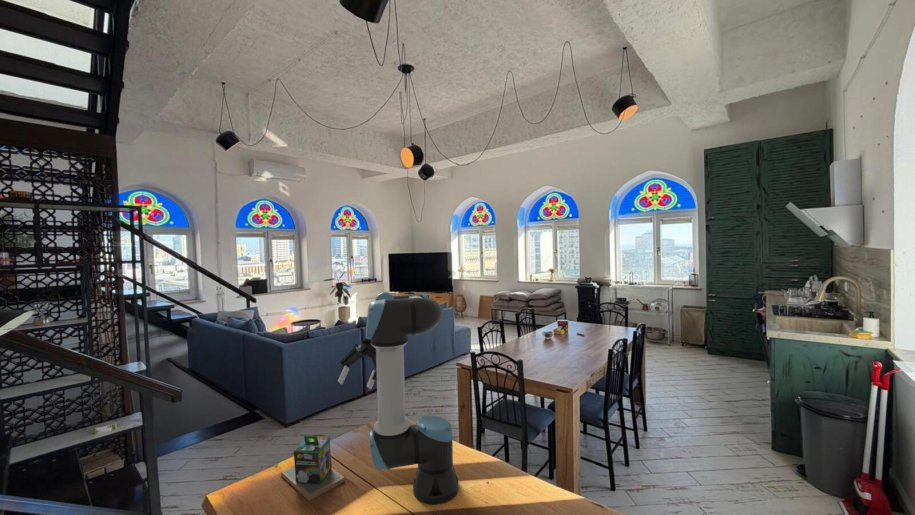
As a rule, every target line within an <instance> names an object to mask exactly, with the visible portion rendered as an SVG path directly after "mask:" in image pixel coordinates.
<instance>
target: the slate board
mask: <svg viewBox="0 0 915 515" xmlns="http://www.w3.org/2000/svg"><path fill="white" fill-rule="evenodd" d="M280 474H281V477H282V478H283V479H285V480H286V481H287V483H289V484H290V485H291V486H292V487H293V488H294V489H295V490H296V491H298V492H299V494H301V495H302V496H303V497H304V498H305V499H306V498H307V499H306V500H308V502H310V501H312V500H315V498H318V497H319V496H321V495H323V494H324V493H326V492H328V491H330V490H331V489H333V488H335V487H336V486H339V485H341V484H342V483H344V482H345V481H346V480H345V479H346V478H345V476H344V475H343V474H341V473H340V472H339V471H337V470H336V469H334V468H333V467H332V468H331V469H330V471H329V472H328V474H327V475H326V476H325V478H324V479H323V480H322V482H321V483H320V484H317V483H302V482H296V476H295V465H293V466H291V467H288V468H287V469H284V470H282V471H281V472H280Z"/></svg>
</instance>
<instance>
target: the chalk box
mask: <svg viewBox="0 0 915 515" xmlns="http://www.w3.org/2000/svg"><path fill="white" fill-rule="evenodd" d="M293 461H294V466H295V476H296V482H302V483H317V484H320V483H321V482H322V480H323V479H324V478H325V476H326V475H327V474H328V472H329V471H330V469H331V468H333V466H332V450H331V437H327V436H326V437H325V436H324V437H323V436H322V437H321V436H316V435H304V436H303V440H302V441H301V442H300V443H299V444H298V446H297V447H296V448H295V449H294V450H293Z"/></svg>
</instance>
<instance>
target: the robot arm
mask: <svg viewBox="0 0 915 515" xmlns="http://www.w3.org/2000/svg"><path fill="white" fill-rule="evenodd" d="M366 315H367V316H366V327H365V328H366V329H365V335H364V338H363V342H362V345H359V344H358V343H355V345H354V346H353V348H352V349H351V350H350V351H349V352H348V353H347V354H346V355H345V356H344V357H343V358H342V359H341V360H340V361H339V363H340V364H341V365H342V368H341V370H340V373H339V374H340V375H339V377H338V379H337V383H338V384H340V385H343V384H344V381H345V380H346V377H347V375H348V373H349V371H350V366H352V365H353V364H354V363H356V362H357V361H359V360H360V359H363V358H365V359H366V358H367V359H371V360H372V364H373V367H374V369H373V370H372V372H371V374H370V376H369V379H368V381H367V383H366V387H367V388H368V389H369V390H372V388H373V386H374V384H375V381H376V391H377V394H376V396H377V417H378V418H377V421H376V422H374V425H373V429H372V430H370V431H369V433H368V434H369V436H368V437H369V445H370V452H371V458H372V463H373V466H374V468H375V469H376V470H379V471H380V470H391V469H395V468H396V469H397V468H401V467H407V466H408V467H409V466H413V465H417V469H416V473H415V477H414V479H413V481H412V491H413V496H414V497H415V498H416V499H417V500H418V501H420V502H422V503H425V504H428V505H441V504H444V503H448V502H449V501H451V500H452V499H454V498H455V497H456V495H457V494H458V493H459V486H460V485H459V478H458V475H457V473H456V471H455V466H454V463H453V462H454V460H453V458H454V457H453V456H454V450H453V447H454V445H453V440H454V435H453V428H452V425H451V422H449V420H447V419H445V418H443V417H441V416H436V415H425V416H422V417H419V418H418V419H417V421H416V423H415V424H412V425H411V422H410V420H409V419H408V418H407V417H406V399H405V398H406V396H405V395H406V394H405V389H406V388H405V354H404V351H405V350H404V347H405V346H406V345H407V344H408V342H409V336H415V335H416V336H418V335H423V334H426V333H428V332H430V331H432V330H433V329H435V328H436V327H437V326H438V325H439V324H440V322H441V320H442V317H443V311H442V307H441V305H440V304H439V302H437V301H436V300H434V299H433V298H429V295H428V294H427V293H426V294H425V293H424V294H421V293H419V294H409V295H407V294H405V295H392V293H390V292H388V291H383V292H381V293H379V294H377V295H376V298H375V299H374V300H373V301H371V302H370V303H369V304H368V308H367V314H366Z"/></svg>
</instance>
